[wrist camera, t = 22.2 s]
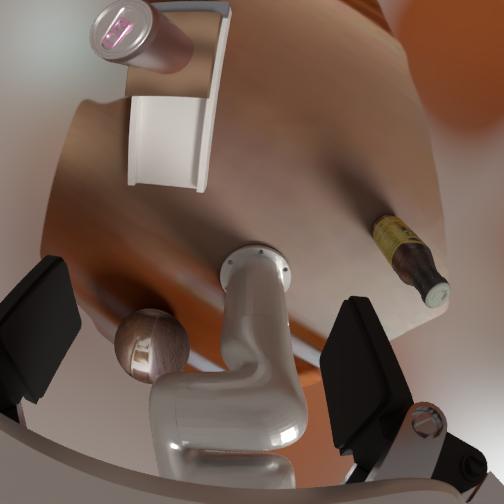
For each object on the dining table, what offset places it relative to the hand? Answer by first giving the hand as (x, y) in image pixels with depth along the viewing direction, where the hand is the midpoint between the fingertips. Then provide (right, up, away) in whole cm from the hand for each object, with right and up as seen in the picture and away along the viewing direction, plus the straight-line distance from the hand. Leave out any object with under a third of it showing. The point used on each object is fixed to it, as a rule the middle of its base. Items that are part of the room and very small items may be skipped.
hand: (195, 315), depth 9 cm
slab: (-8, +29, +23) cm, 38 cm away
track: (-9, +25, +27) cm, 38 cm away
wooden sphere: (-18, -13, +49) cm, 53 cm away
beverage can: (-8, +26, +19) cm, 33 cm away
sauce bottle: (+25, +6, +38) cm, 46 cm away
